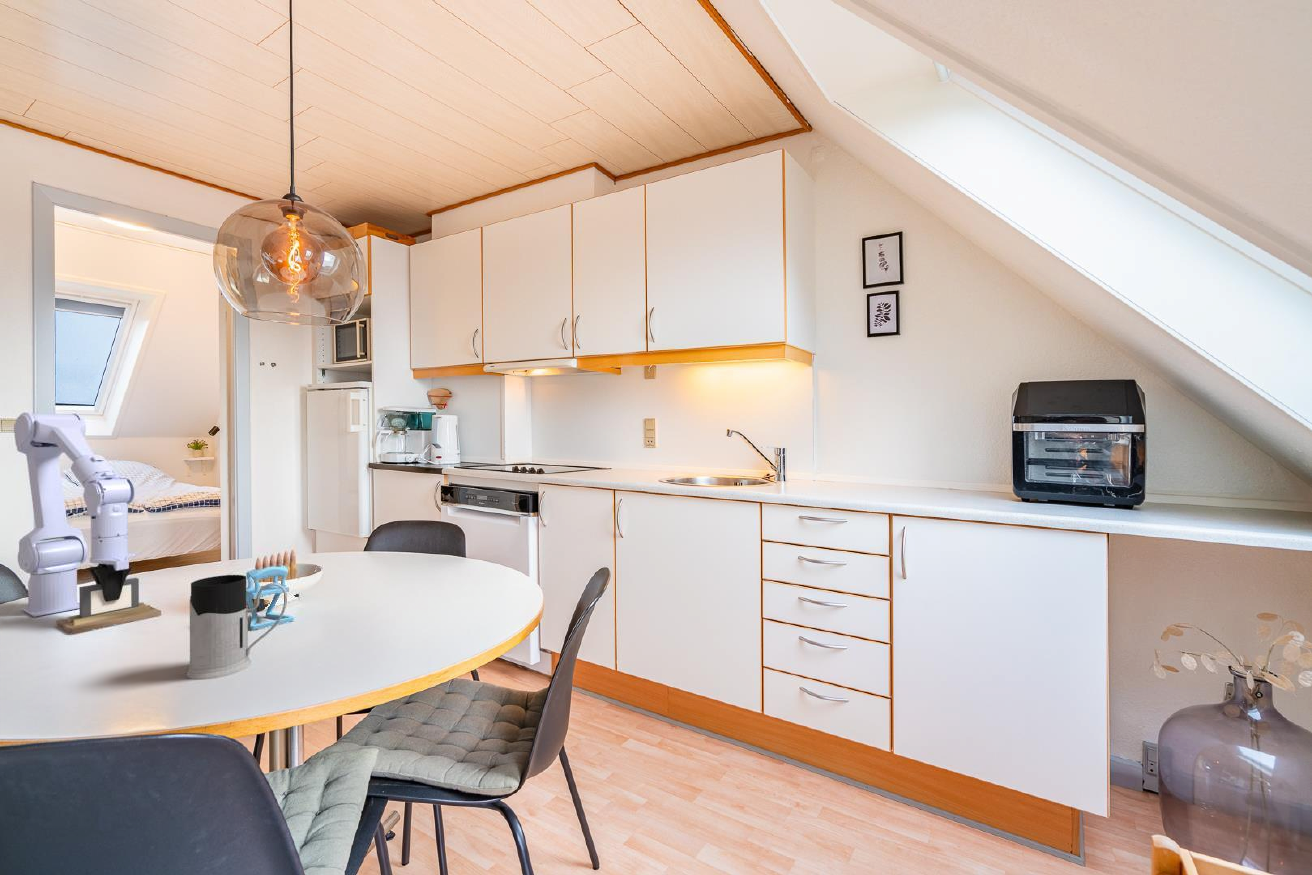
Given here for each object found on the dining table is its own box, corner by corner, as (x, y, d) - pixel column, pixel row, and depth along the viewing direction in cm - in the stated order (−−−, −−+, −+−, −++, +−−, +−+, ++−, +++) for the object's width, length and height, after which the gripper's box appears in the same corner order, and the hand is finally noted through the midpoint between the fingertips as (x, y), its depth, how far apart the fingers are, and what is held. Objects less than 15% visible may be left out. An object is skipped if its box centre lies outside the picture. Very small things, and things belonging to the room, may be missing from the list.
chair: (280, 613, 127) (280, 559, 127) (294, 621, 122) (294, 564, 122) (239, 622, 121) (238, 565, 121) (251, 630, 116) (251, 571, 116)
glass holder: (198, 662, 100) (197, 576, 100) (292, 651, 105) (292, 569, 105) (177, 682, 92) (176, 589, 92) (280, 669, 97) (280, 581, 97)
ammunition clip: (257, 612, 128) (257, 558, 127) (251, 611, 128) (251, 558, 128) (299, 598, 138) (299, 549, 138) (293, 598, 138) (293, 548, 138)
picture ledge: (56, 625, 118) (56, 615, 118) (143, 607, 130) (143, 599, 130) (72, 634, 113) (72, 624, 113) (161, 615, 125) (161, 606, 125)
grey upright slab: (79, 620, 118) (79, 587, 118) (136, 609, 126) (135, 577, 126) (82, 622, 118) (82, 588, 117) (139, 610, 125) (138, 578, 125)
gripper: (147, 535, 121) (147, 600, 121) (121, 529, 129) (122, 590, 129) (102, 541, 115) (103, 608, 115) (78, 534, 123) (79, 597, 123)
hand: (110, 599), depth 122 cm, fingers closed on grey upright slab, 2 cm apart
